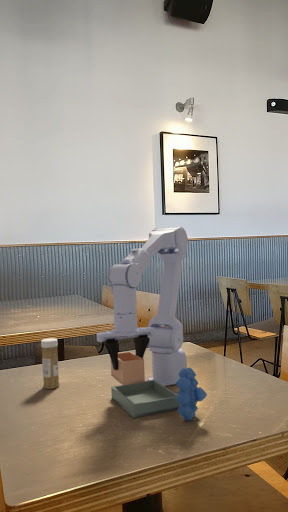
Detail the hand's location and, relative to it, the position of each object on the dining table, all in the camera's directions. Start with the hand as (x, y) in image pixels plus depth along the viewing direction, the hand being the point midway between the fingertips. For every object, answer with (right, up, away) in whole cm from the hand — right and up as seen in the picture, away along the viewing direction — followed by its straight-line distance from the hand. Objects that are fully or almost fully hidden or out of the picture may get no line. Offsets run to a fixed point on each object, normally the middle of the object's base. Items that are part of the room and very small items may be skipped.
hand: (127, 367), depth 110 cm
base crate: (+4, -9, -1) cm, 10 cm away
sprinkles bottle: (-22, -10, +15) cm, 29 cm away
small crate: (0, -3, 0) cm, 3 cm away
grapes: (+15, -9, -12) cm, 21 cm away
